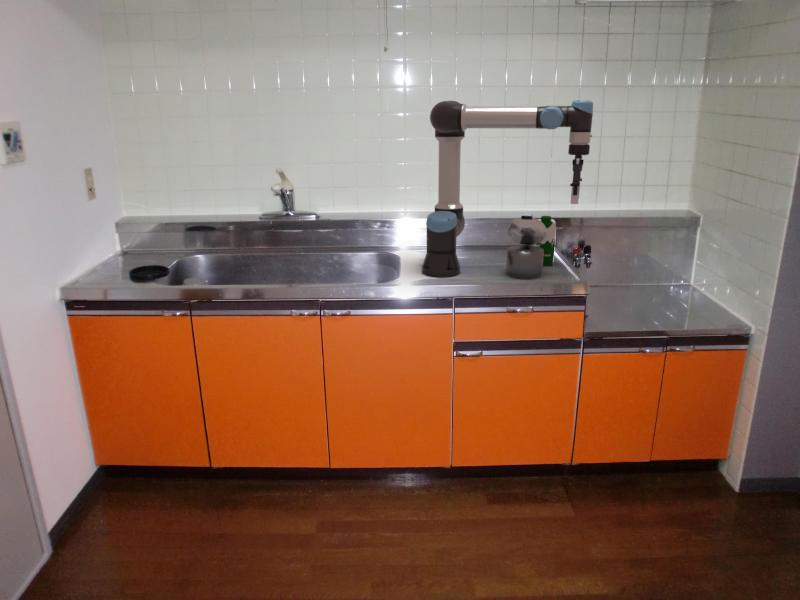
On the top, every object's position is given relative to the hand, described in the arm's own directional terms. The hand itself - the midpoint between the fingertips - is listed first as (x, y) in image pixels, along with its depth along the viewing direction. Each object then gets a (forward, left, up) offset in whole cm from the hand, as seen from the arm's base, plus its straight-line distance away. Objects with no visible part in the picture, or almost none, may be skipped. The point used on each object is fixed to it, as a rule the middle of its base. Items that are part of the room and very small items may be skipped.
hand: (574, 201), depth 235 cm
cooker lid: (-17, -5, -11) cm, 21 cm away
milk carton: (-11, +11, -28) cm, 32 cm away
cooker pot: (-17, -8, -28) cm, 34 cm away
